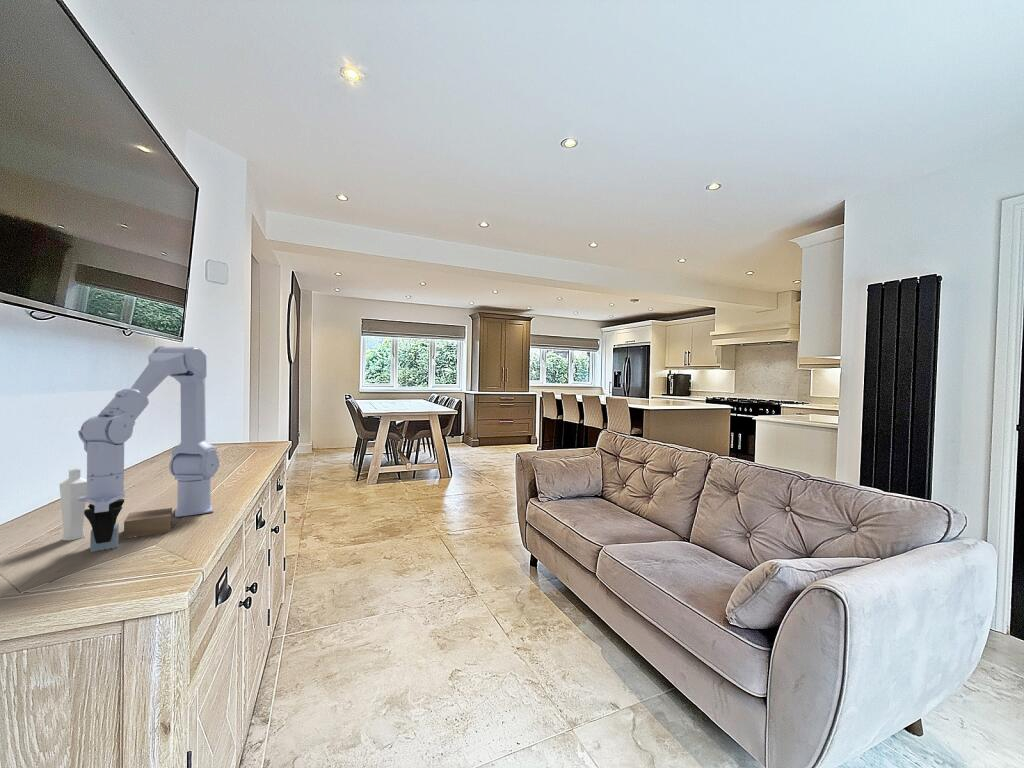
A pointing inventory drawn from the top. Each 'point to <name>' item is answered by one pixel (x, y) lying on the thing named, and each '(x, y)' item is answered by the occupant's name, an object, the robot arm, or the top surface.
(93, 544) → the slate-blue cube
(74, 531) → the perfume bottle
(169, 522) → the walnut block
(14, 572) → the top surface
